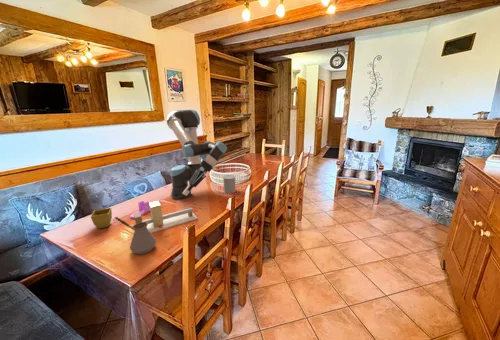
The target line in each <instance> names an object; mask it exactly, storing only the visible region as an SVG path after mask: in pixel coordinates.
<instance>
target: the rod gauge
mask: <svg viewBox="0 0 500 340" xmlns="http://www.w3.org/2000/svg"><path fill="white" fill-rule="evenodd" d="M133 213H134V217H135V219H134V222H135V224H137V223H141V222H146V223H147V224H148V225H147V229H148V230H149V231H150V233H151V234H153V233H155V232H159V231H162V230H166V229H169V228H172V227H175V226H179V225H182V224H186V223H189V221H190V222H192V221H196V220H198V217H197V215H196V214H195V213H194V209H193V208H192V207H189V208H185V209H181V210H177V211H174V212H170V213H166V214H162V217H163V224H164V225H160V226H157V227H154V225H153V219H152V218H151V217H150V218H148V219H147V218H146V219H144V220H143V218H142V216H141V214H140V212H138V213H135V212H133Z"/></svg>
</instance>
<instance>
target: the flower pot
mask: <svg viewBox="0 0 500 340" xmlns="http://www.w3.org/2000/svg"><path fill="white" fill-rule="evenodd" d="M112 217H113V213H112V207H108V208H104V209H103V208H102V209H96V210H93V212H92V213H91V215H90V219H91V221H92V223H93V225H94V226H95V227H96V228H97V229H104V228H107V227H109V226H110V224H111V222H112Z"/></svg>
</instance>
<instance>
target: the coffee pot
mask: <svg viewBox="0 0 500 340" xmlns="http://www.w3.org/2000/svg"><path fill="white" fill-rule="evenodd" d="M116 220H117V222H120V223H121V224H123V225H124V226H126V227H128V228H130V229H132V230H133V231H134V233H133V236H132V239H131V243H130V244H129V245H130V246H129V250H131V252H132V253H134V254H137V255H145V254H147V253H149V252H151V251H152V250H153V249H154V247H155V246H156V244H157V239H156V238H155V236H154V235H153V233H150V231H149V230H148V229H147V225H148V224H147V223H146V222H141V223H137V224H136V223H135V224H133V226H132V225H130V224H129V223H127V222H126V221H124V220H122V219H121V218H119V217H118V216H115V217H114V218H113V221H114V222H115V221H116Z"/></svg>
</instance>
